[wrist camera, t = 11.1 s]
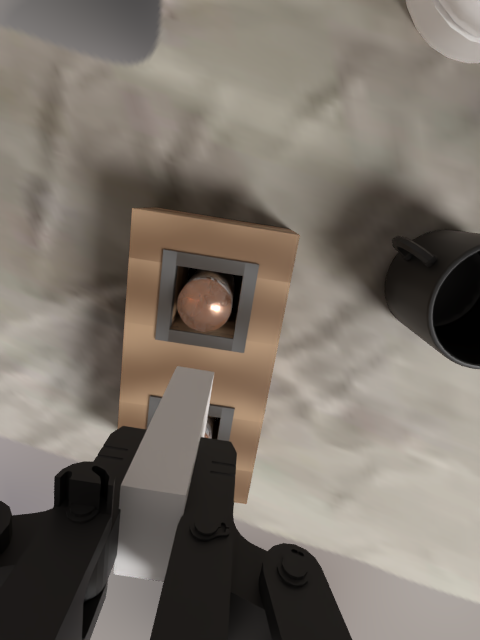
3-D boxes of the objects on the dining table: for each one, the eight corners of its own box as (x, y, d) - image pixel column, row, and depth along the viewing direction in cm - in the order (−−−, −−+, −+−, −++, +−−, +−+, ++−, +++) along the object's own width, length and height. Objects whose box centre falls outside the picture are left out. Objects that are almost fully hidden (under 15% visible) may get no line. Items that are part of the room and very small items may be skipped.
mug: (414, 188, 32) (475, 182, 23) (509, 271, 34) (598, 294, 25) (341, 275, 34) (372, 299, 26) (434, 348, 36) (492, 393, 28)
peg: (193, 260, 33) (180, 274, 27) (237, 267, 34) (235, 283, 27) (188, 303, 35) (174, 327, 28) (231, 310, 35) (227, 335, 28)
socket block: (155, 207, 33) (131, 208, 26) (289, 228, 33) (300, 235, 26) (136, 438, 40) (113, 486, 33) (246, 454, 40) (246, 505, 34)
